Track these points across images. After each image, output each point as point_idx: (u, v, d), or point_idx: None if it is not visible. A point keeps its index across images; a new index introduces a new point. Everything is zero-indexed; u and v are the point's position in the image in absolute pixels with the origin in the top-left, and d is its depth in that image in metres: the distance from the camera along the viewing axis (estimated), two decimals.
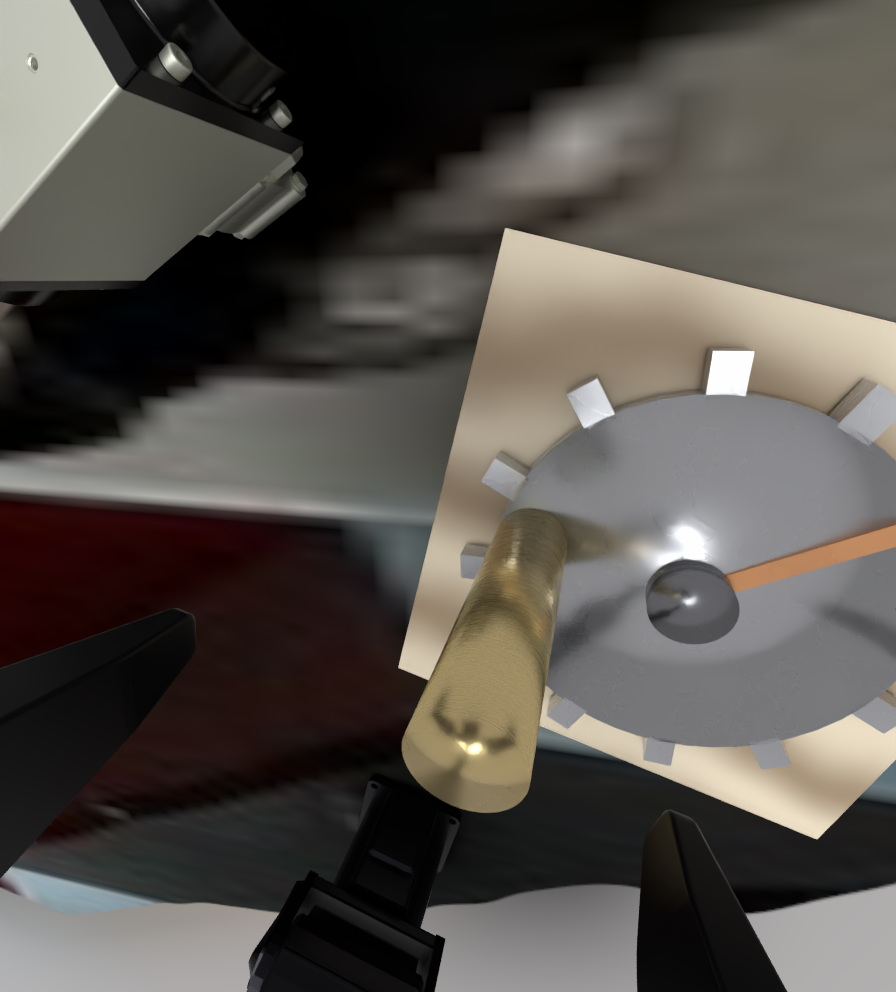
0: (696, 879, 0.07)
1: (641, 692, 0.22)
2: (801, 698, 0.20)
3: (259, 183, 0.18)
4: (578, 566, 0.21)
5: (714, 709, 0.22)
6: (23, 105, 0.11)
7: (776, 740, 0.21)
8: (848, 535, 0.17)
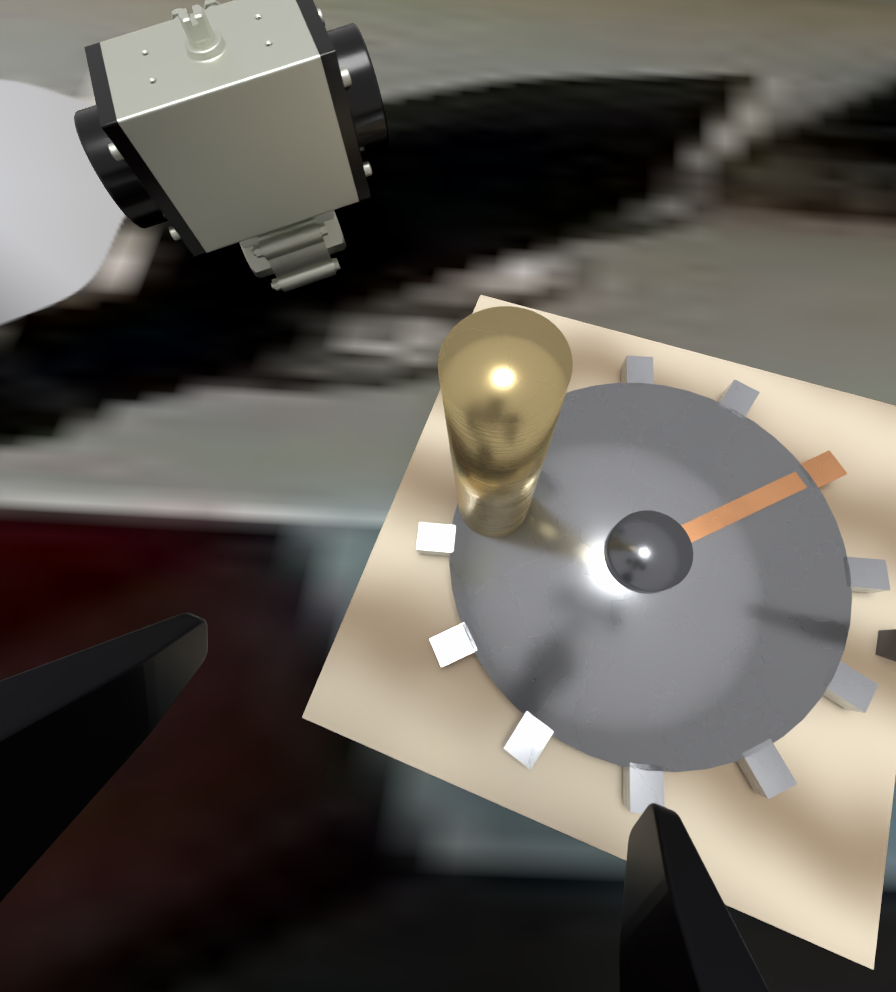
0: (677, 871, 0.07)
1: (614, 689, 0.19)
2: (775, 673, 0.19)
3: (320, 232, 0.26)
4: (538, 529, 0.21)
5: (695, 703, 0.19)
6: (249, 56, 0.18)
7: (770, 742, 0.18)
8: (754, 487, 0.21)
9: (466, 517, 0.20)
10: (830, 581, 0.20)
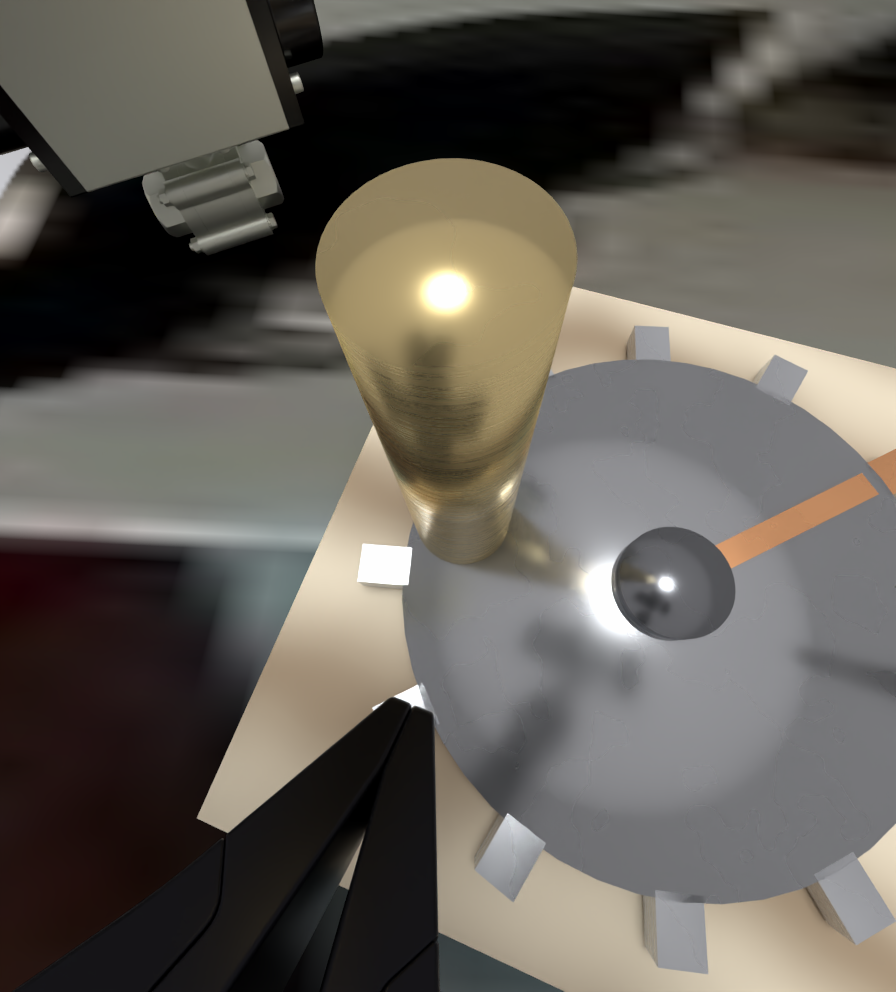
0: (402, 754, 0.08)
1: (630, 779, 0.14)
2: (853, 754, 0.14)
3: (244, 173, 0.20)
4: (522, 552, 0.16)
5: (745, 799, 0.13)
6: None
7: (852, 857, 0.13)
8: (809, 494, 0.16)
9: (423, 538, 0.15)
10: None
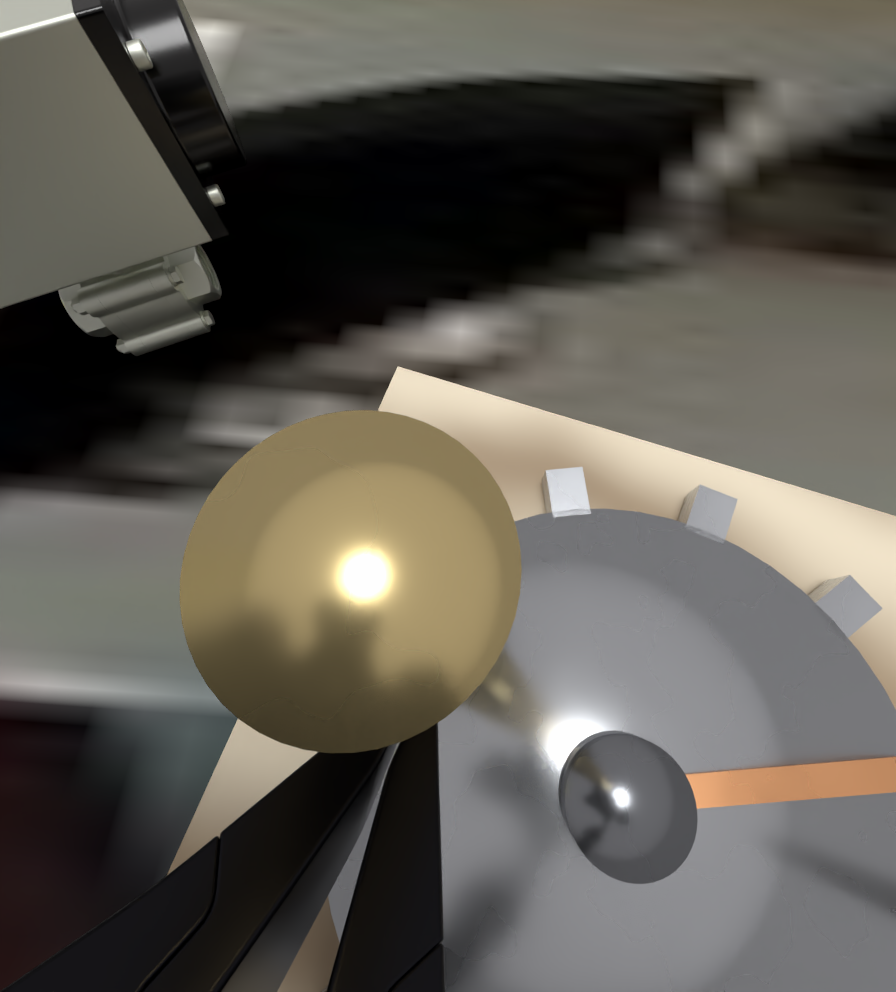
0: (406, 756, 0.08)
1: None
2: None
3: (168, 280, 0.18)
4: (482, 695, 0.14)
5: None
6: None
7: None
8: (827, 757, 0.13)
9: None
10: None
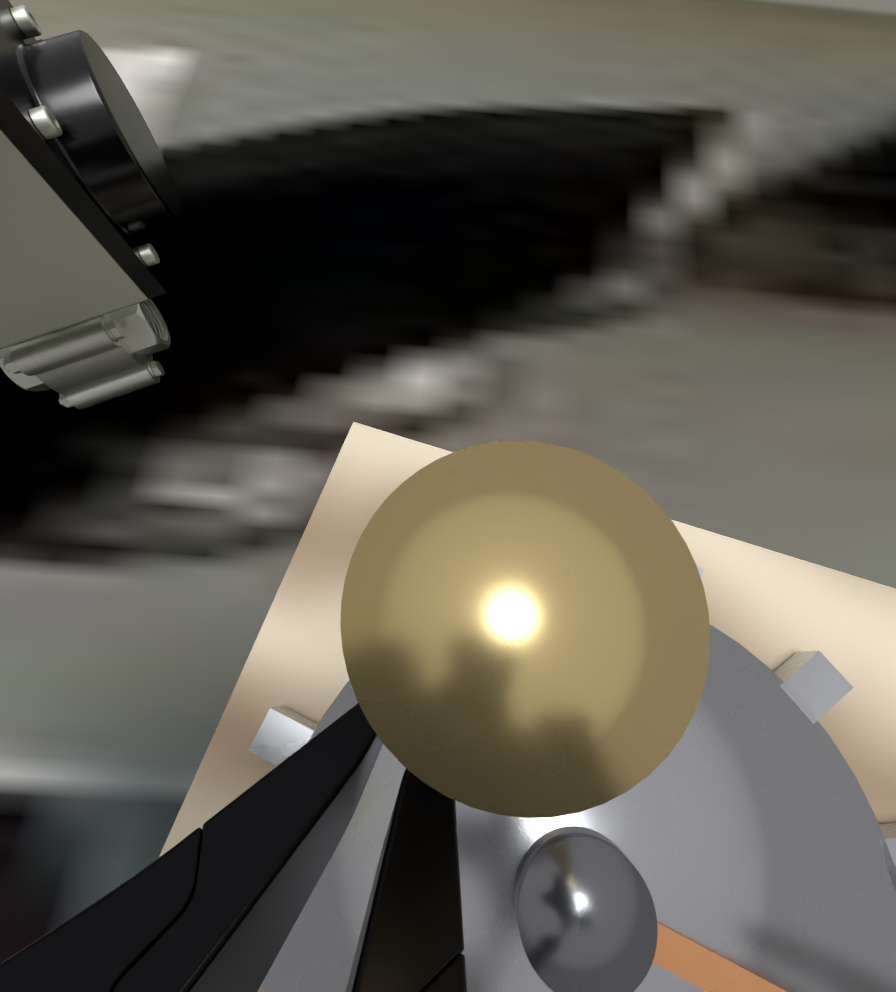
0: None
1: None
2: None
3: (107, 336, 0.17)
4: None
5: None
6: None
7: None
8: None
9: None
10: None
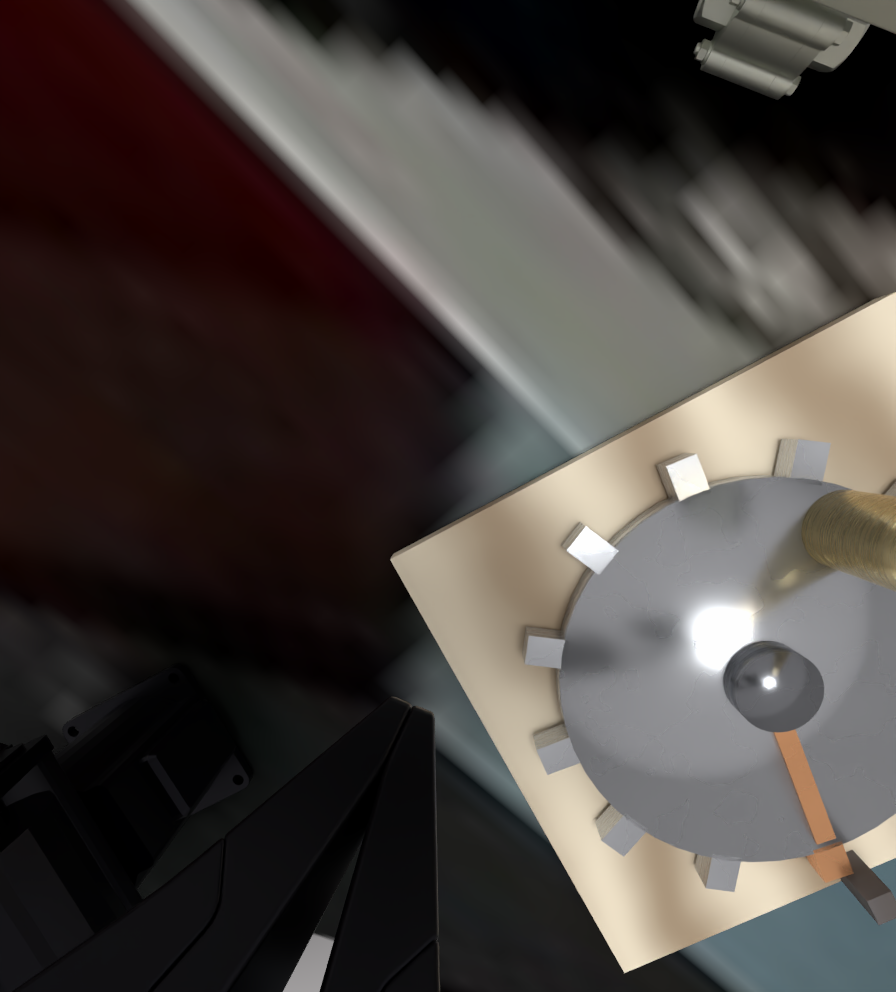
0: (402, 754, 0.08)
1: (634, 634, 0.20)
2: (638, 777, 0.20)
3: (834, 37, 0.16)
4: (805, 576, 0.19)
5: (616, 705, 0.20)
6: None
7: (581, 760, 0.20)
8: (823, 797, 0.20)
9: (847, 503, 0.17)
10: (718, 841, 0.21)
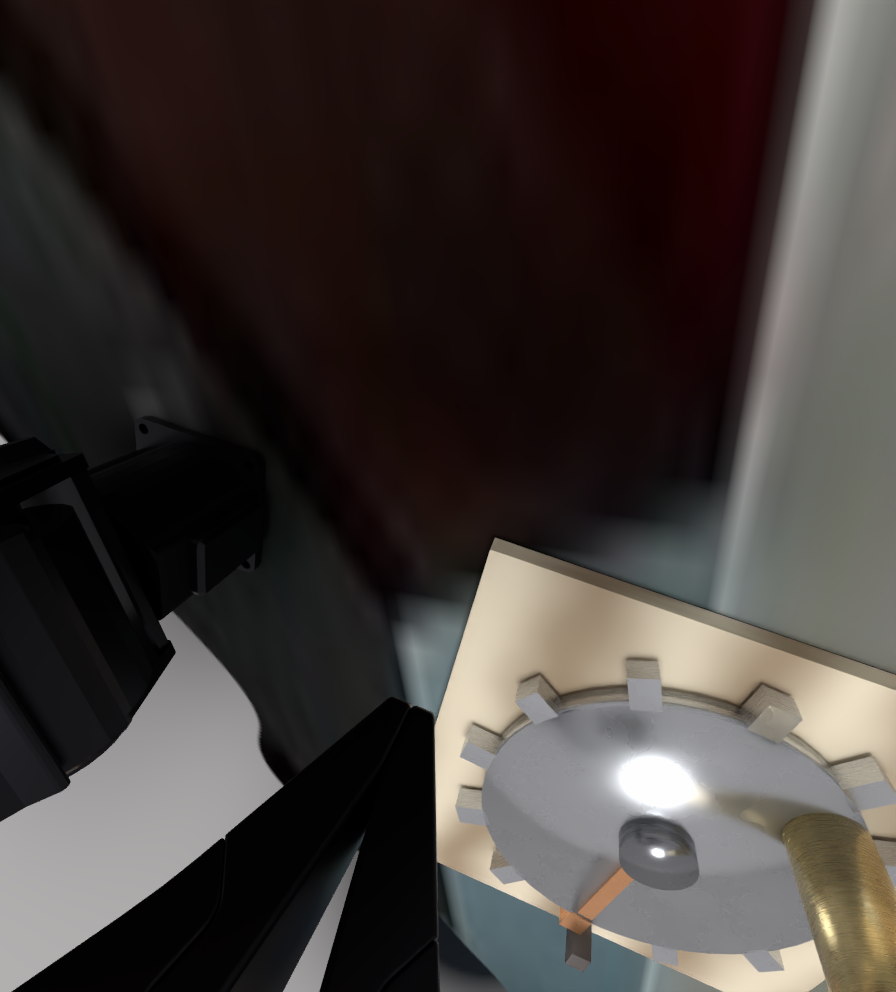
0: (402, 754, 0.08)
1: (607, 754, 0.21)
2: (515, 806, 0.24)
3: None
4: (761, 833, 0.20)
5: (547, 770, 0.22)
6: None
7: (489, 770, 0.23)
8: (610, 904, 0.25)
9: (855, 852, 0.18)
10: (523, 864, 0.26)
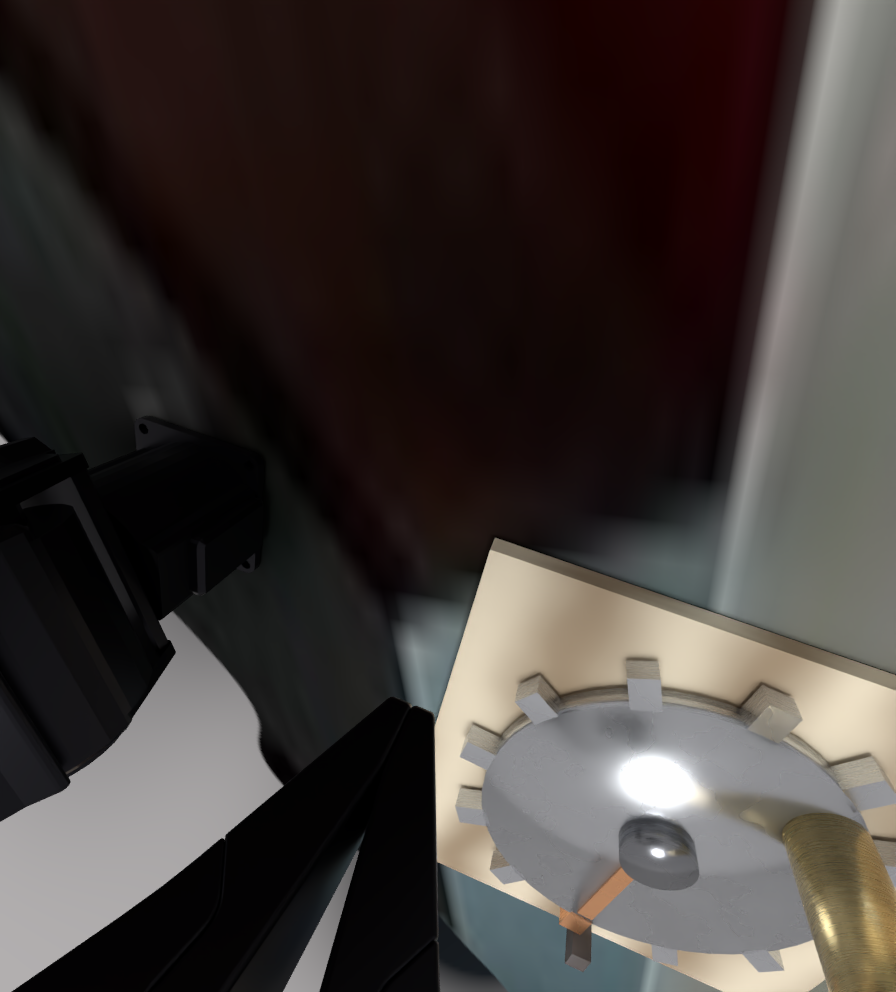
0: (402, 754, 0.08)
1: (607, 755, 0.21)
2: (514, 806, 0.24)
3: None
4: (761, 833, 0.20)
5: (547, 770, 0.22)
6: None
7: (489, 770, 0.23)
8: (610, 904, 0.25)
9: (855, 852, 0.18)
10: (523, 864, 0.26)
